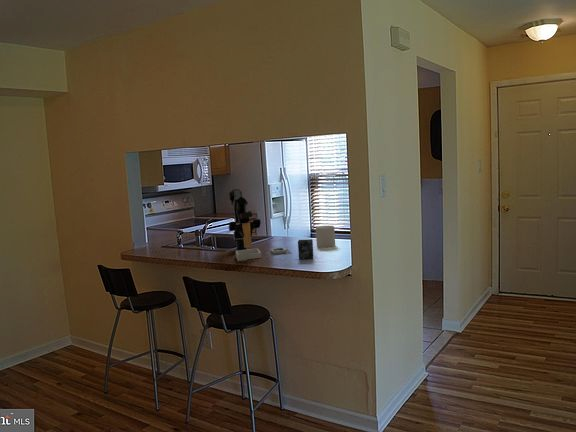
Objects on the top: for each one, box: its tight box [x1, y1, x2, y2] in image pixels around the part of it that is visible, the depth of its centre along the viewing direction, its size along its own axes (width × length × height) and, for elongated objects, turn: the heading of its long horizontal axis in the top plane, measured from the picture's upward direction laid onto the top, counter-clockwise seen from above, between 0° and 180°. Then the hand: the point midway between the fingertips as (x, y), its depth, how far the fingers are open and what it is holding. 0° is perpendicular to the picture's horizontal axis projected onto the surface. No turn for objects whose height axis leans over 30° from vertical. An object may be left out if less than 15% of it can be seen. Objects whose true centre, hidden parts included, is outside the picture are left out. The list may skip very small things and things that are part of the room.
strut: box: [242, 223, 253, 249], centre depth 299 cm, size 4×4×14 cm
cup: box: [315, 225, 336, 248], centre depth 322 cm, size 12×12×12 cm
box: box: [297, 238, 314, 260], centre depth 289 cm, size 8×6×11 cm
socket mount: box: [265, 247, 293, 257], centre depth 306 cm, size 14×14×3 cm
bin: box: [235, 248, 262, 263], centre depth 301 cm, size 14×14×4 cm
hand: (247, 236), depth 298 cm, fingers closed on strut, 4 cm apart
